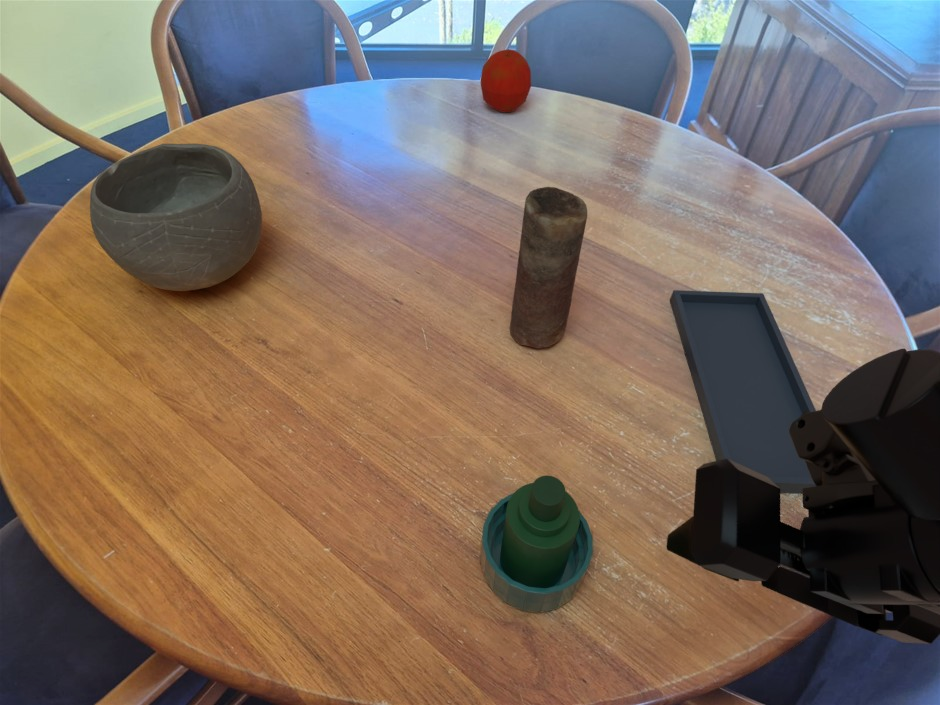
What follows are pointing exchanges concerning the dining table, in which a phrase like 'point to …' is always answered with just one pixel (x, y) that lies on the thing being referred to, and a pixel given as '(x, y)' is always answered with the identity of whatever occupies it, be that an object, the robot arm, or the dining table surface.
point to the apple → (505, 80)
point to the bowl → (177, 215)
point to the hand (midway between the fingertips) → (717, 561)
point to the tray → (744, 382)
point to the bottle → (539, 533)
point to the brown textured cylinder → (547, 265)
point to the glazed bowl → (520, 593)
